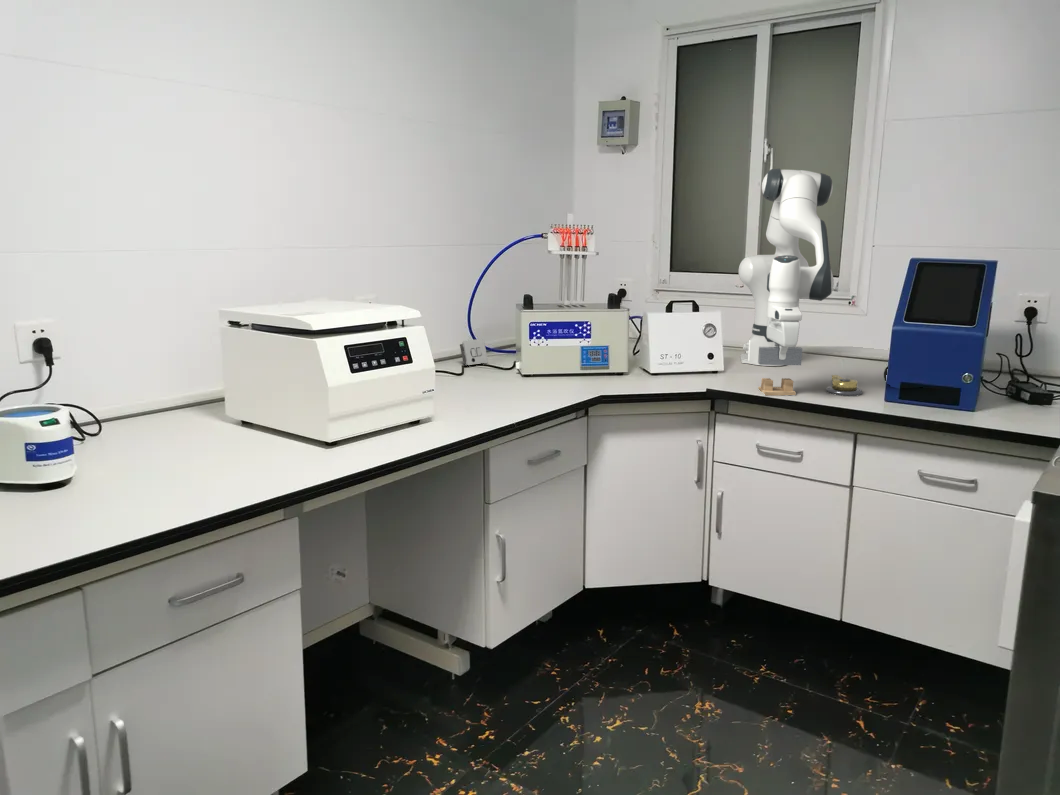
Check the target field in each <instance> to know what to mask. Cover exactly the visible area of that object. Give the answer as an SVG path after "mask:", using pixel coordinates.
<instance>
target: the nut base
mask: <svg viewBox="0 0 1060 795" xmlns="http://www.w3.org/2000/svg"><path fill="white" fill-rule="evenodd" d="M826 393H828V394H830V393H831V395H834V394H836V396H842V395H843V396H844V397H855V396H857V395H858V396H861V395H862V394H863V389H861V388H858V387H857V390H855V391H841V390H836V389H833V388H832V385H831V386H827V387H826Z"/></svg>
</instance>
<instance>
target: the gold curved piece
mask: <svg viewBox="0 0 1060 795" xmlns="http://www.w3.org/2000/svg"><path fill="white" fill-rule="evenodd" d="M831 382H832V385H831V386H832V388H833V389H836V390H841V391H855V390H857V388H858V380H856V379H852V378H843V377H841V376H840V375H838V374H832V375H831Z"/></svg>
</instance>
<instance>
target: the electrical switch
mask: <svg viewBox="0 0 1060 795" xmlns="http://www.w3.org/2000/svg"><path fill="white" fill-rule="evenodd" d="M459 347H460V354H461V358H462V362H463V363H462V364H463V365H464V364H466V365H465V366H467V365H472V364H479V363H487V362H488V363H489V359H488V355H487V354H488V353H487V348H486V344H485V339H484V338H477V339H469V340H468V339H467V340H463V341H462V343H460V344H459ZM488 363H487V364H488Z"/></svg>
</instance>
